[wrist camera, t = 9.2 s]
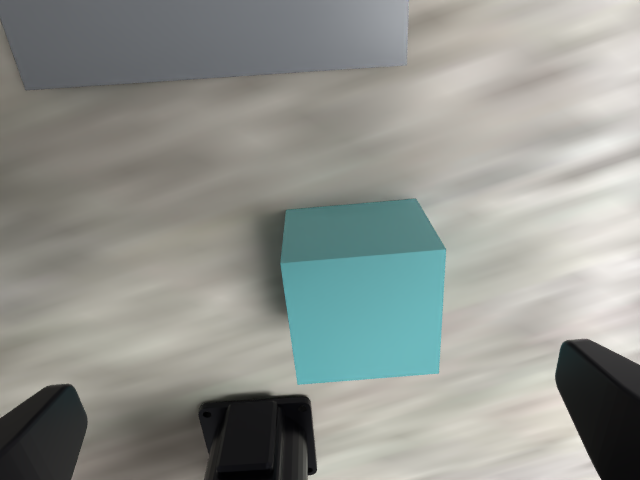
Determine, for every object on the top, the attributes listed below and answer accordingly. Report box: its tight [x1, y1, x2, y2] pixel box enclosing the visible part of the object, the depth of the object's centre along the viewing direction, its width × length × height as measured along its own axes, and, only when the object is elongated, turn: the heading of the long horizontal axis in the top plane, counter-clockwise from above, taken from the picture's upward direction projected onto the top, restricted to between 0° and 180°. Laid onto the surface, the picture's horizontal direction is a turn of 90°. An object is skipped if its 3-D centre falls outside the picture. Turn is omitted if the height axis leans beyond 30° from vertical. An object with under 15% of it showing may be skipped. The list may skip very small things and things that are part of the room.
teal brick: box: [280, 199, 446, 385], centre depth 19 cm, size 6×6×5 cm
